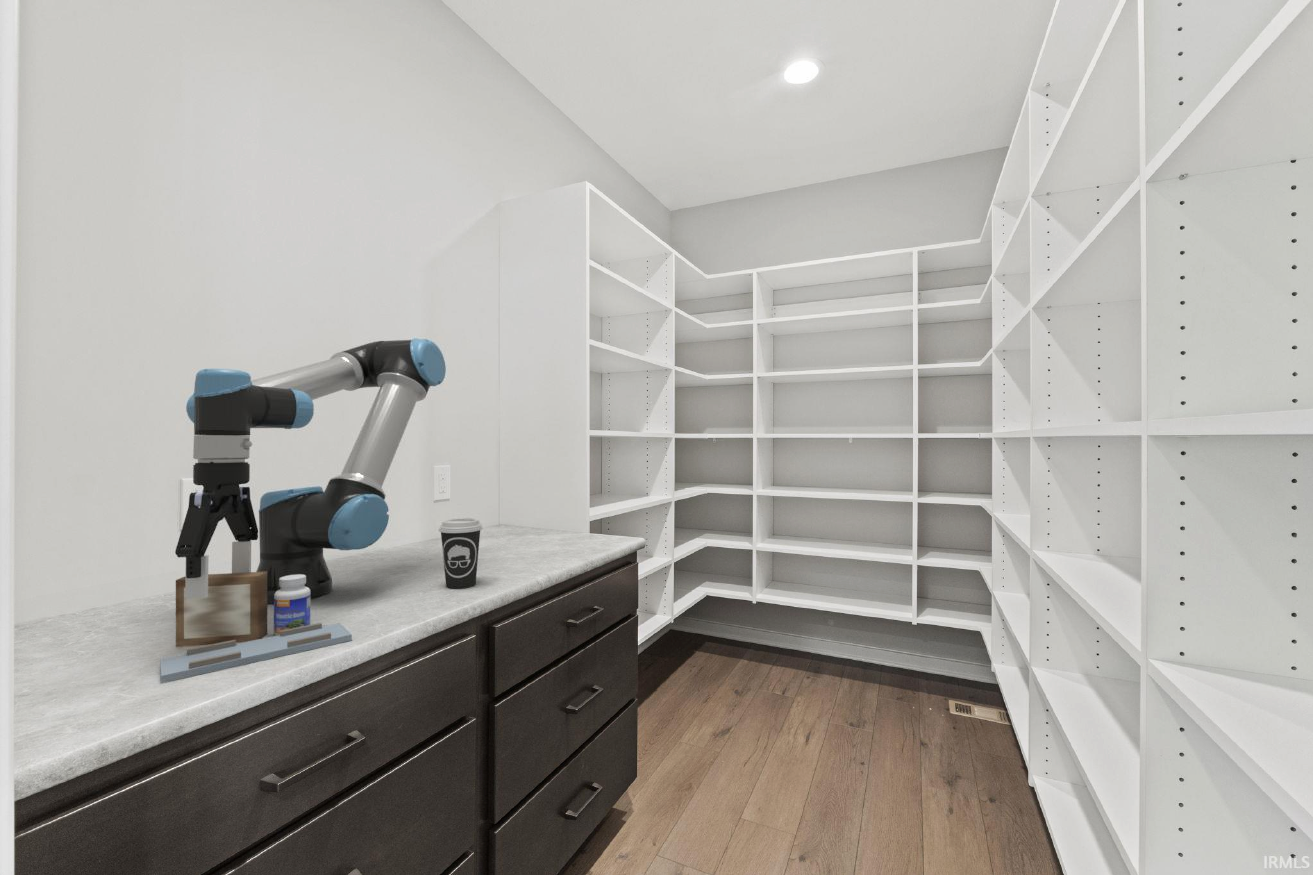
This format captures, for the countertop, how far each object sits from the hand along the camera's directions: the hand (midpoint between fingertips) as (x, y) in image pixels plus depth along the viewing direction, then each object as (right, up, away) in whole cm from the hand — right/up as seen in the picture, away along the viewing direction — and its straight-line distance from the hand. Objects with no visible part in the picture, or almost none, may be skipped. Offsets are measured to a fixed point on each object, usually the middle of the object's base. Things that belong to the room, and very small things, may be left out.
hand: (220, 587), depth 94 cm
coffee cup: (+28, -9, +35) cm, 46 cm away
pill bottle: (+9, -9, +4) cm, 14 cm away
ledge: (+11, -9, -5) cm, 15 cm away
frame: (0, -9, 0) cm, 9 cm away
